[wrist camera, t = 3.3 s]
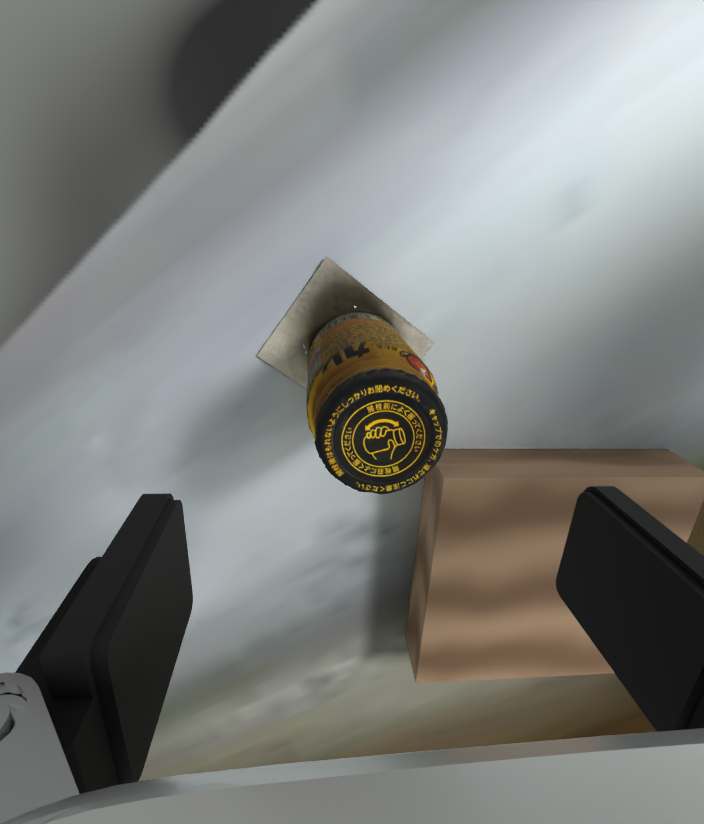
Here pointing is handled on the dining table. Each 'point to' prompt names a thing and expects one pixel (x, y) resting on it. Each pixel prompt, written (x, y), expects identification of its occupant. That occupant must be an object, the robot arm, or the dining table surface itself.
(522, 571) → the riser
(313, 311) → the condiment
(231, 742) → the dining table surface
